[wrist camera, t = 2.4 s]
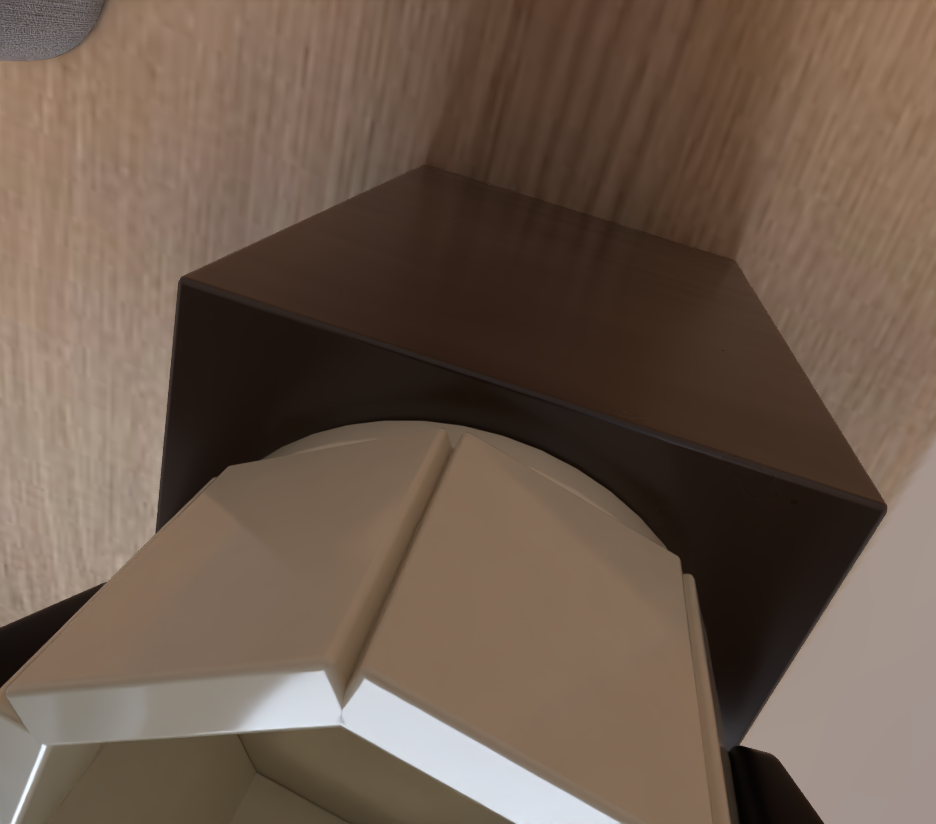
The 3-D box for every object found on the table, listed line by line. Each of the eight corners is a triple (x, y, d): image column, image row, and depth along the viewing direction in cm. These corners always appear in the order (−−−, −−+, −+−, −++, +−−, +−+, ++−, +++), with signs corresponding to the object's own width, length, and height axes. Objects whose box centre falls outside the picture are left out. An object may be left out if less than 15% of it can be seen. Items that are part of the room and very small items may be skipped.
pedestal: (737, 260, 16) (893, 509, 7) (621, 523, 19) (623, 933, 10) (423, 163, 16) (176, 275, 7) (360, 436, 19) (133, 755, 10)
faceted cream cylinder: (837, 621, 7) (999, 1030, 4) (524, 904, 10) (479, 1284, 7) (306, 304, 7) (51, 491, 4) (129, 685, 10) (-109, 980, 6)
